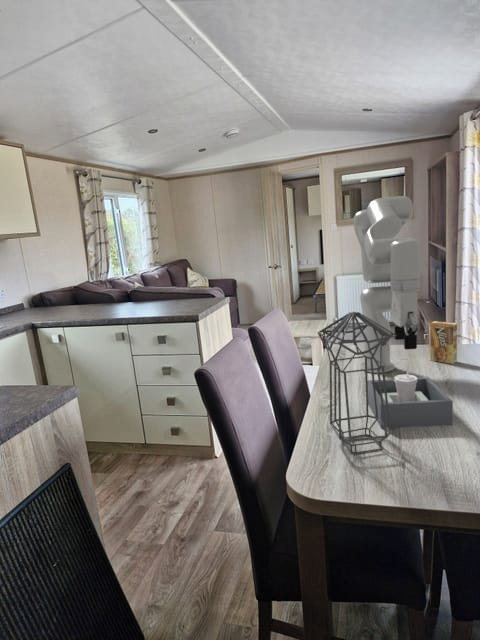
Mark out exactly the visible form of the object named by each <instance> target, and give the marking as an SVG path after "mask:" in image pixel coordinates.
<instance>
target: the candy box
mask: <svg viewBox="0 0 480 640" xmlns="http://www.w3.org/2000/svg"><path fill="white" fill-rule="evenodd" d="M429 346H430V349H429V355H430V356H429V361H432V362H437V361H438V363H445V364H450V363H451V364H450V365H454V364H455V363H456V362H457V361H458V323H457V322H447V321H436V320H435V321H432V322H430V323H429Z"/></svg>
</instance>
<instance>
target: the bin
mask: <svg viewBox="0 0 480 640" xmlns="http://www.w3.org/2000/svg"><path fill="white" fill-rule="evenodd" d="M374 380H375V390H376V400H377V410H378V418H379V419H380V420H381V421H382V422H383V414H382V405H381V397H380V389H379V381H378V379H374ZM385 381H386V390H387V399H388V408H389V417H390V425H391V429H396V428H418V427H421V428H422V427H423V428H424V427H439V426H441V427H442V426H453V412H454V411H453V410H454V407H453V406H454V405H453V403H454V401H453V400H452V398H450V397H449V395H447V394H446V393H445V392H444V391H443V390H442V389H441V388H440V387H439V386H438V385H437V384H436V383H435V381H433V380H432V379H431V378H430V377H429V376H428V377H426V376H425V377H417V381H418V382H417V383H416V389H415V397H414V401H409V402H398V395H397V389H396V382H395V381H394V378H393V379H392V378H390V379H385ZM381 387H382V395H383V403H384V411H385V420H386V426H387V427H388V419H387V410H386V401H385V392H384V383H383V379H381ZM368 408H369V409H370V410H371V413H372V414H373V416H375V417H376V410H375V400H374V391H373V381H372V379H371V380H369V379H368ZM376 422H377V424H378V425H379V427H380V429H384V426H383V425H382V424H381V423H380V422H379V421H378V420H377V421H376ZM383 423H384V422H383ZM388 428H389V427H388Z"/></svg>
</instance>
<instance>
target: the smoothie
mask: <svg viewBox="0 0 480 640" xmlns="http://www.w3.org/2000/svg"><path fill="white" fill-rule="evenodd" d="M409 366H410V365H409V363H406V373H404V374H398V375H395V376H394V378H393V379H394V381H395V382H396V389H397V395H398V402H409V401H414V397H415V389H416V383H417V382H418V381H417V378H418V377H417V376H416V375H413V374H410V373H409V372H410V370H409V369H410V368H409Z"/></svg>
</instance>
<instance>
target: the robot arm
mask: <svg viewBox="0 0 480 640" xmlns="http://www.w3.org/2000/svg"><path fill="white" fill-rule="evenodd" d="M413 204H414V203H413V201H412V200H411V199H410V198H409V197H408V196H405V195H399V196H386V197H380V198H376V199H375V198H374V199H373V200H372V201H370V203H369V204H368V206H367V208H366V209H362V210H359V211H357V212H356V213H355V214H354V216H353V229H354V233H355V236H356V238H357V241H358V243H359V246H360V250H361V251H360V253H361V254H360V256H361V266H362V267H361V268H362V269H361V271H362V278H363V280H364V281H365V283H368V284H383V283H390V285H385V286H384V285H383V286H381V285H380V286H373V287H372V286H371V287H366V288H364V289H363V290H362V291H361V292H360V296H359V300H360V307H361V311H362V312H361V314H362V315H364V316H366V317H367V318H369V319H371V320H372V321H374V322H376V323H377V324H379V325H381V326H382V327H384V328H386V329H387V330H389V331H391V325H390V322H389V320H388V318H387V317H385V315H383V313H388V312H391V314H390V315H391V317H390V319H391V322H392V323H393V324H394V334H395V335H397V336H396V337H394V339H395V340H397V341H398V340H403V341H404V343H403V347H404V349H405V350H416V349H417V347H418V339H417V338H418V323H419V322H418V321H419V309H418V308H419V305H418V291H420V290H421V289H420V287H421V286H420V285H421V281H420V280H421V274H420V273H421V271H420V269H421V268H420V267H421V264H420V263H421V258H420V257H421V244H420V242H419V240H418V239H415V238H413V237H410V236H405V237H404V236H403V237H402V236H401V237H396V236H398V234H399V233H400V231H401V230H402V229H404V228H405V227H406V226H407V225H408V223H409V222H410V221H411V220H412V218H413V215H414V205H413ZM364 318H365V317H364ZM367 318H366V319H367ZM367 320H368V319H367ZM369 321H370V320H369ZM372 321H371V322H372ZM362 322H363V321H362ZM365 323H366V322H365ZM365 323H364V322H363V325H366V324H367V323H366V324H365ZM372 323H373V322H372ZM374 324H375V323H374ZM377 324H375V325H377ZM363 325H362V326H363ZM377 326H378V325H377ZM378 327H380V326H378ZM380 328H381V327H380ZM381 329H383V328H381ZM383 330H384V331H386V330H385V329H383ZM363 332H364V333H365V335H366V337H367V339H368V341H370V340H374V339H377V338H376V336H375V333H374V330H373V328H372V327H371V326H367V327H366V328H365V329H364V330H363ZM376 332H377V331H376ZM386 332H387V333H390V332H388V331H386ZM377 335H378V338H381V336H382V335H380V334H379V332H377ZM395 335H394V336H395ZM383 337H385V336H383ZM363 340H365V339H364V338H363ZM380 341H381V340H380ZM382 341H383V340H382ZM377 344H378V341H375V342H371V343H369V345H370V349H371V348H372V347H374V346H375V345H377ZM380 346H381V345H379V347H378V349H377V351H376V353H375V355H374V357H375V359H376V360H378V361H379V362H380ZM363 348H364V350H363V351H368V350H369V349H368V344H367V343H366V342H363ZM375 349H376V348H375ZM375 349H373V350H372V351H371V352H372V354H373V353H374V351H375ZM364 355H365V356H368V357H372V356H371V354H370V353H365V354H364ZM363 359H364V362H362V363H361V364H360V370H363V369H365V357H364V358H363ZM372 361H373V368H378V366H377V365H376V363H375V361H374V359H372ZM381 363H382V364H384V365H385V367H384V371H385V374H387V373H390V372H393V371H394V370H395V369H396V367H395V366H396V365H395V364H394V363H393V362H391V338H390V339H389V340H388V341H387V342H386V346H385V344H384V346H382V356H381ZM378 364H379V366H380V363H378ZM381 366H383V365H381ZM367 369H371V361H370V359H368V358H367ZM373 371H374V374H375V373H376V374H378V373H377V370H373ZM379 371H380V374H382V368H381V369H379ZM367 373H371V374H372V372H371V370H368V371H367Z"/></svg>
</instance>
